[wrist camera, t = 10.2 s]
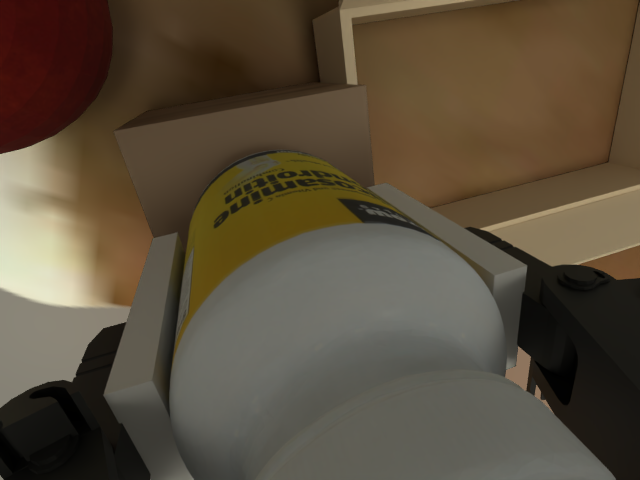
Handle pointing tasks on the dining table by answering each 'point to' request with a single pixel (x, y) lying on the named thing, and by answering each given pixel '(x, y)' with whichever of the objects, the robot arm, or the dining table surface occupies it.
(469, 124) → the dining table surface
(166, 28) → the dining table surface
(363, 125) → the block
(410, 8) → the carton
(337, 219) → the pill bottle
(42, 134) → the apple
